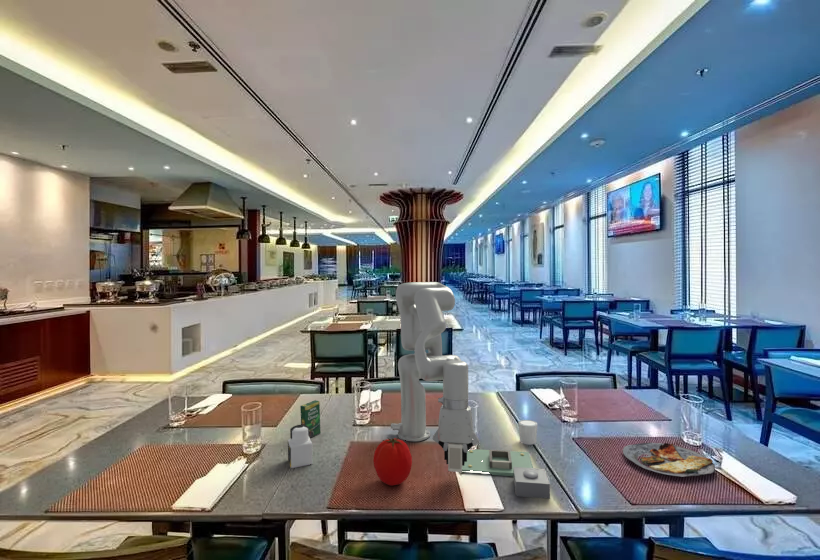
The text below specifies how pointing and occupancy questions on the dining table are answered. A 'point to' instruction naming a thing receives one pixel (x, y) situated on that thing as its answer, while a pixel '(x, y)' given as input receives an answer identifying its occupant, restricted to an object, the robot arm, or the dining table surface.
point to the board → (478, 455)
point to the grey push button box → (531, 482)
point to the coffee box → (311, 417)
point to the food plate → (669, 459)
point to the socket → (500, 463)
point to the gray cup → (528, 431)
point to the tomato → (392, 461)
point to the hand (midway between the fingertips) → (455, 462)
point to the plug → (455, 457)
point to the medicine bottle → (299, 447)
